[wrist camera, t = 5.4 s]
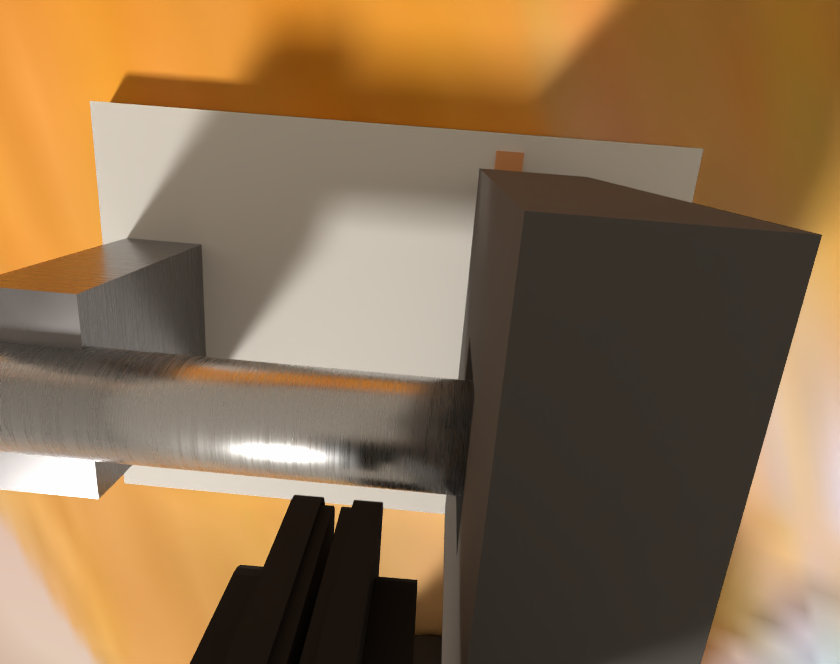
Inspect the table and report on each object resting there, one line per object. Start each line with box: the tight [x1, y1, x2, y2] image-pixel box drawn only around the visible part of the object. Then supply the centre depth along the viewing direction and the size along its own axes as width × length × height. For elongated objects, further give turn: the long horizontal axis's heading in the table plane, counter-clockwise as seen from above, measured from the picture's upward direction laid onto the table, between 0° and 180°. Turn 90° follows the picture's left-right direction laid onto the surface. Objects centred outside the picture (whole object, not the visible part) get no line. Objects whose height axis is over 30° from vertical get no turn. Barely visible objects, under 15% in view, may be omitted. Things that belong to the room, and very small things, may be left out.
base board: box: [90, 101, 703, 514], centre depth 20 cm, size 18×13×1 cm
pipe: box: [0, 238, 475, 499], centre depth 15 cm, size 16×5×8 cm, turn 86°
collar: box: [442, 168, 822, 664], centre depth 13 cm, size 3×11×11 cm, turn 176°
